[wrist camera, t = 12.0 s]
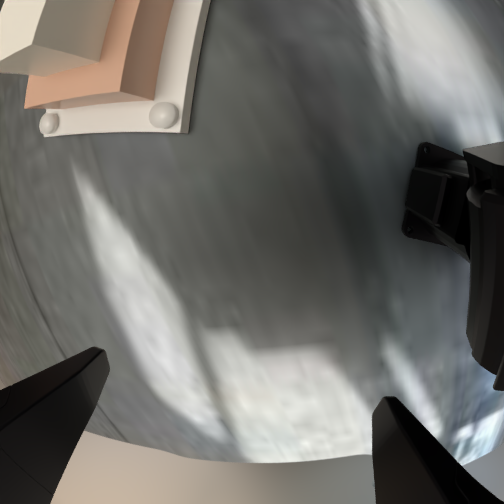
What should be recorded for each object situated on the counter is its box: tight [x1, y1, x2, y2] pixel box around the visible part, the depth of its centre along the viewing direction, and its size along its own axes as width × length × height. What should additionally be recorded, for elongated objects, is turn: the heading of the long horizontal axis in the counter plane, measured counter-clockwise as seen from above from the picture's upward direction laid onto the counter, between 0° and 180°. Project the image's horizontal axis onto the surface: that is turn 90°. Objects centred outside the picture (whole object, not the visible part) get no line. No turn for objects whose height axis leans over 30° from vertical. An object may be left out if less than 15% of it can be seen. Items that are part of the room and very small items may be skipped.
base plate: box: [24, 0, 211, 137], centre depth 12 cm, size 12×12×6 cm
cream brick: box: [0, 0, 115, 77], centre depth 7 cm, size 4×4×5 cm
